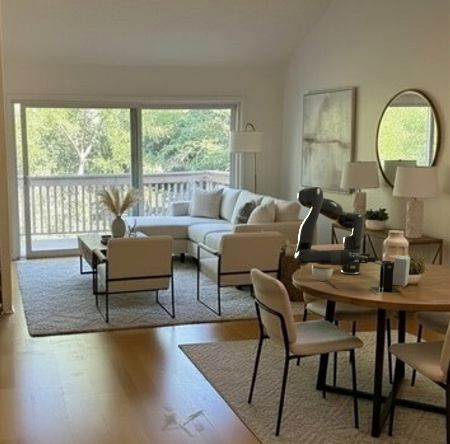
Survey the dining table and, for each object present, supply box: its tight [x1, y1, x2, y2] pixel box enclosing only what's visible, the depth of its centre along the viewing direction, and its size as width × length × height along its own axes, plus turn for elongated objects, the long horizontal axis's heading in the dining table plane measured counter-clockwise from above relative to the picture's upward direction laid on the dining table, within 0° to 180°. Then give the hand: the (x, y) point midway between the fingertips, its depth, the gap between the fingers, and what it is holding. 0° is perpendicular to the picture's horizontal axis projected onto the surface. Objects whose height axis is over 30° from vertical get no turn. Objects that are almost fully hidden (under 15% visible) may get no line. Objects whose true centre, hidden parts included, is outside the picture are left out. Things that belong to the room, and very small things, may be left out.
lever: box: [363, 256, 386, 267], centre depth 270 cm, size 14×4×4 cm, turn 88°
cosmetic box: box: [393, 254, 411, 287], centre depth 282 cm, size 8×6×15 cm
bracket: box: [369, 260, 403, 294], centre depth 271 cm, size 12×10×15 cm
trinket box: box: [311, 263, 334, 282], centre depth 296 cm, size 11×11×9 cm
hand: (372, 257), depth 270 cm, fingers open, 8 cm apart
